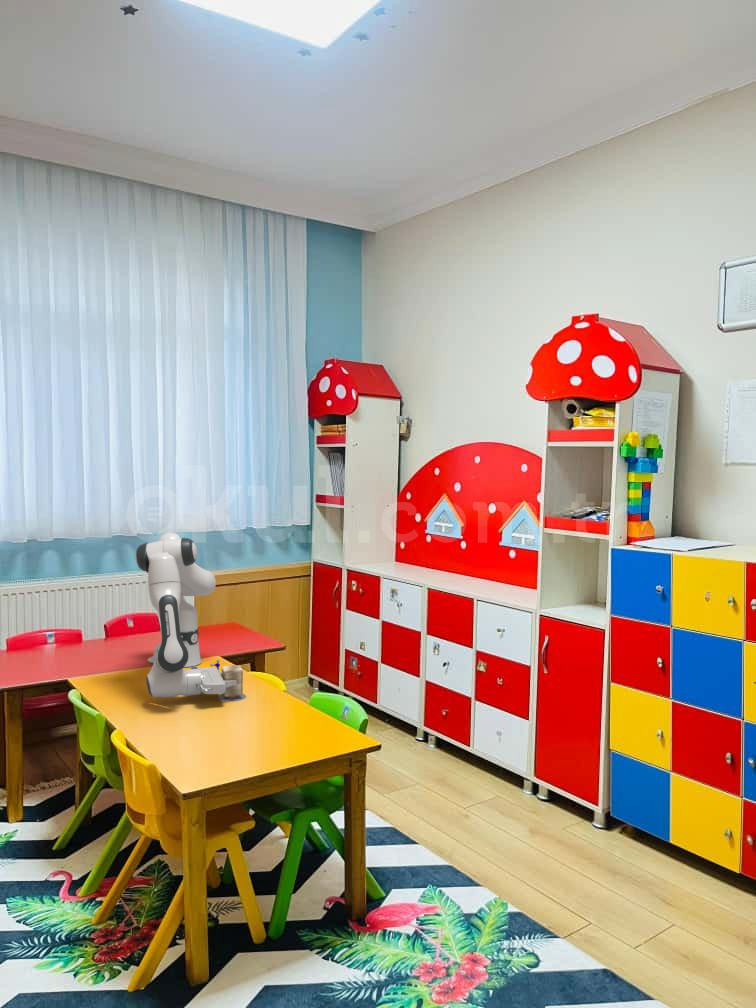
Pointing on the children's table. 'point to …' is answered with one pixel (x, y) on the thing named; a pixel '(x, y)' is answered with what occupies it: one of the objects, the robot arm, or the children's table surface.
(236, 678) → the beige upright block
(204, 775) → the children's table surface
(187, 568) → the robot arm
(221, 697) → the coaster
